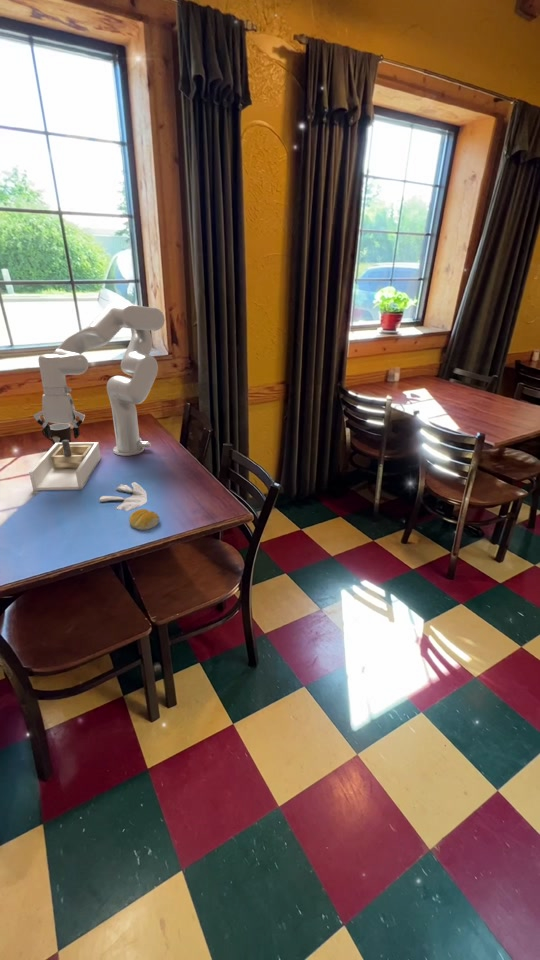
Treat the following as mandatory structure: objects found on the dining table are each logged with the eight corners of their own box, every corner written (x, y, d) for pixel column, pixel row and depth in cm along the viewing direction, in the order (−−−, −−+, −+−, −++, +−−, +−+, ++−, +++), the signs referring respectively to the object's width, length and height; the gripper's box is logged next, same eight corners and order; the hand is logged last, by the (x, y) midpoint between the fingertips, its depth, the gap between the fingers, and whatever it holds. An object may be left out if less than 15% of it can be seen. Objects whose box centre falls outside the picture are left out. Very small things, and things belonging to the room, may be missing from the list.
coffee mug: (78, 448, 189) (74, 425, 185) (60, 454, 183) (56, 431, 179) (61, 442, 195) (57, 420, 191) (43, 448, 188) (38, 425, 184)
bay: (100, 458, 180) (98, 442, 177) (82, 489, 155) (79, 471, 152) (59, 458, 178) (55, 442, 175) (33, 490, 153) (29, 472, 150)
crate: (93, 457, 178) (89, 431, 173) (85, 469, 167) (81, 441, 162) (62, 457, 176) (57, 431, 172) (52, 469, 166) (47, 442, 161)
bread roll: (143, 513, 142) (142, 502, 140) (163, 522, 138) (162, 511, 136) (123, 524, 136) (121, 513, 134) (143, 533, 131) (142, 522, 130)
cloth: (131, 516, 141) (130, 510, 140) (76, 503, 147) (75, 497, 146) (166, 490, 158) (166, 484, 157) (115, 479, 165) (114, 473, 164)
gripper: (84, 388, 159) (90, 434, 166) (33, 387, 157) (41, 433, 164) (78, 393, 152) (84, 440, 159) (25, 393, 150) (34, 440, 157)
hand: (62, 437), depth 162 cm, fingers open, 9 cm apart
